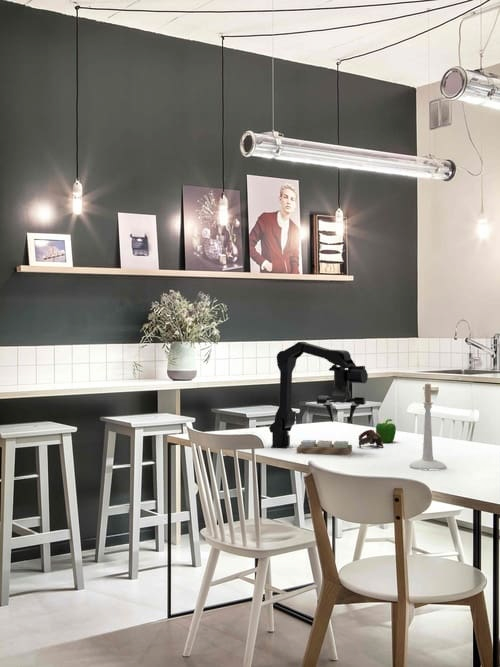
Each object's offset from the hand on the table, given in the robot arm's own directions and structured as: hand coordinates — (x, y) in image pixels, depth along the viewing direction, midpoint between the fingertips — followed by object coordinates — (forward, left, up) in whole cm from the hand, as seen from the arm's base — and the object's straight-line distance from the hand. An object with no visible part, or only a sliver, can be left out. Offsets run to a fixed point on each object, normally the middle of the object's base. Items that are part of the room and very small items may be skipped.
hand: (341, 422), depth 338 cm
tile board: (-6, 0, -12) cm, 14 cm away
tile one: (-13, 0, -10) cm, 17 cm away
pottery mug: (+10, +18, -12) cm, 24 cm away
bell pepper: (+15, +33, -12) cm, 38 cm away
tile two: (-6, 0, -10) cm, 12 cm away
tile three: (0, 0, -10) cm, 10 cm away
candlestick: (+35, -26, -12) cm, 45 cm away
